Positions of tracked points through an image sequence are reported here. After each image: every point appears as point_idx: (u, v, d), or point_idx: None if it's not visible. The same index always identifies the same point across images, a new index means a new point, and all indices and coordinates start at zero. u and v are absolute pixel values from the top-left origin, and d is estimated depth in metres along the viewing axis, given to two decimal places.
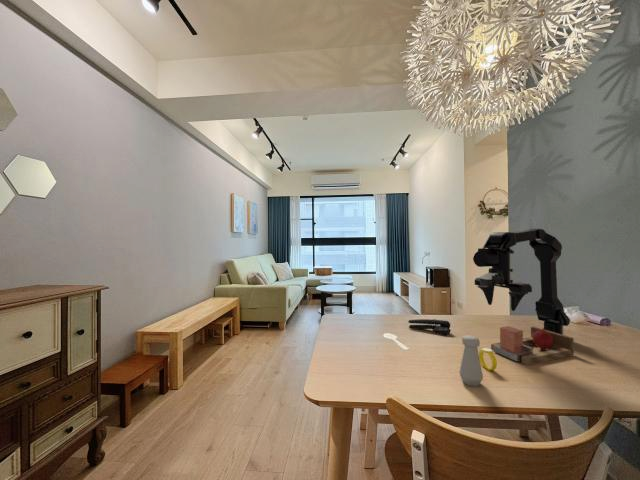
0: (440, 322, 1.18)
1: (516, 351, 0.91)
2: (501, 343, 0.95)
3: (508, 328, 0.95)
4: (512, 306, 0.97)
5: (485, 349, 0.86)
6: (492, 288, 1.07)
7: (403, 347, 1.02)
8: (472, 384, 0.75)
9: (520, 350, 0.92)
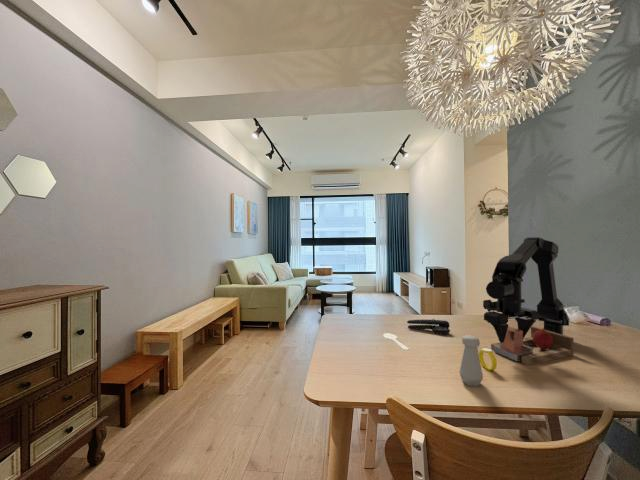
0: (439, 322, 1.18)
1: (516, 351, 0.91)
2: (501, 343, 0.95)
3: (508, 328, 0.95)
4: None
5: (485, 349, 0.86)
6: (527, 322, 0.94)
7: (403, 347, 1.02)
8: (472, 384, 0.75)
9: (520, 350, 0.92)
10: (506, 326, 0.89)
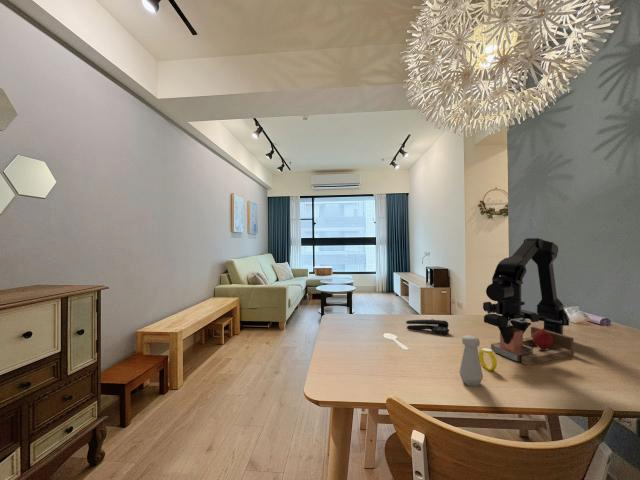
0: (438, 322, 1.18)
1: (516, 351, 0.91)
2: (501, 343, 0.95)
3: None
4: None
5: (485, 349, 0.86)
6: (522, 325, 0.93)
7: (403, 347, 1.02)
8: (472, 384, 0.75)
9: (520, 350, 0.92)
10: (511, 328, 0.90)
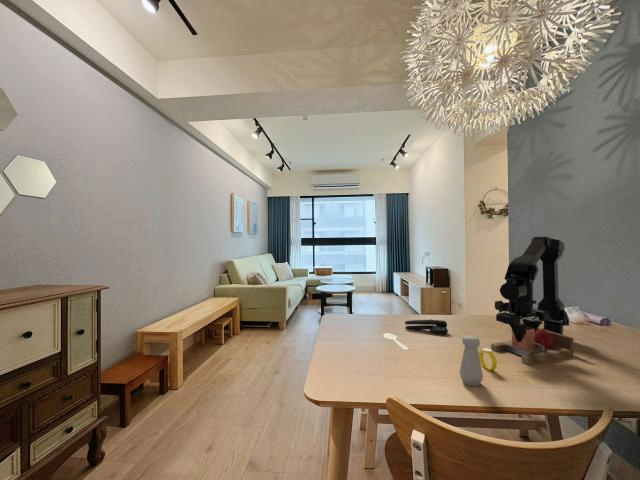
0: (437, 322, 1.18)
1: (528, 349, 0.93)
2: (513, 341, 0.97)
3: None
4: None
5: (485, 349, 0.86)
6: (533, 324, 0.95)
7: (403, 347, 1.02)
8: (472, 384, 0.75)
9: (532, 348, 0.94)
10: (524, 326, 0.92)
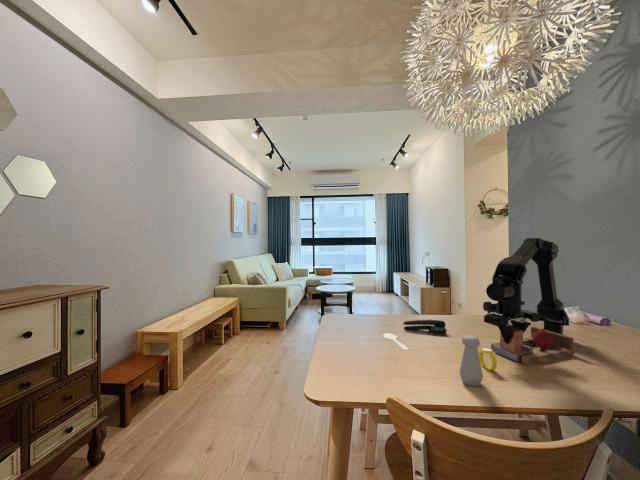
0: (436, 322, 1.18)
1: (516, 351, 0.91)
2: (501, 343, 0.95)
3: None
4: None
5: (485, 349, 0.86)
6: (522, 325, 0.93)
7: (403, 347, 1.02)
8: (472, 384, 0.75)
9: (520, 350, 0.92)
10: (511, 327, 0.90)
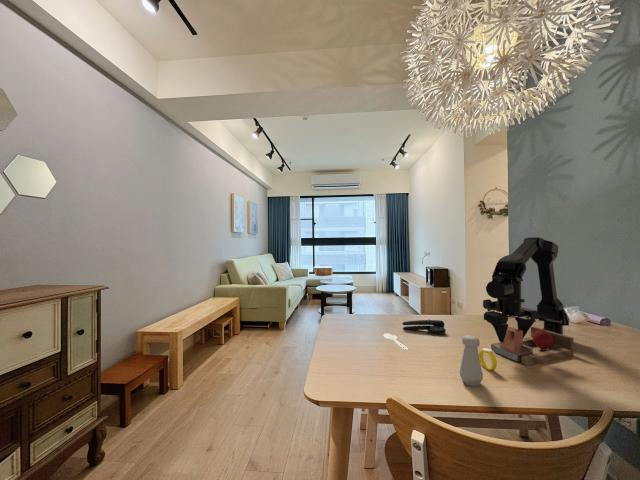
0: (435, 322, 1.18)
1: (516, 351, 0.91)
2: (501, 343, 0.95)
3: (508, 328, 0.95)
4: None
5: (485, 349, 0.86)
6: (527, 322, 0.94)
7: None
8: (472, 384, 0.75)
9: (520, 350, 0.92)
10: (506, 326, 0.89)
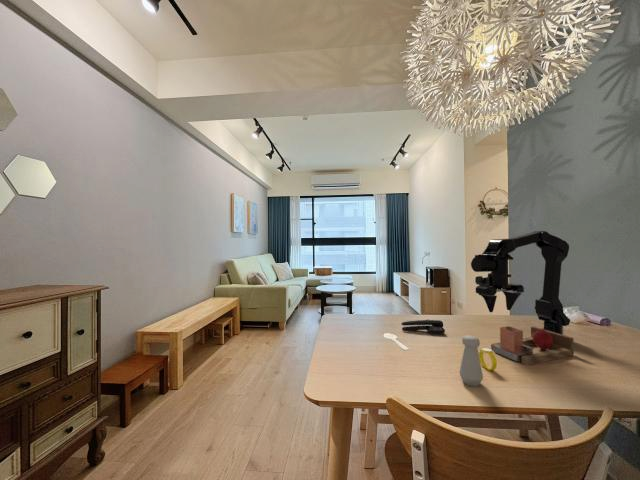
0: (434, 322, 1.18)
1: (516, 351, 0.91)
2: (501, 343, 0.95)
3: (508, 328, 0.95)
4: None
5: (485, 349, 0.86)
6: (513, 295, 1.07)
7: (403, 347, 1.02)
8: (472, 384, 0.75)
9: (520, 350, 0.92)
10: (494, 297, 1.02)
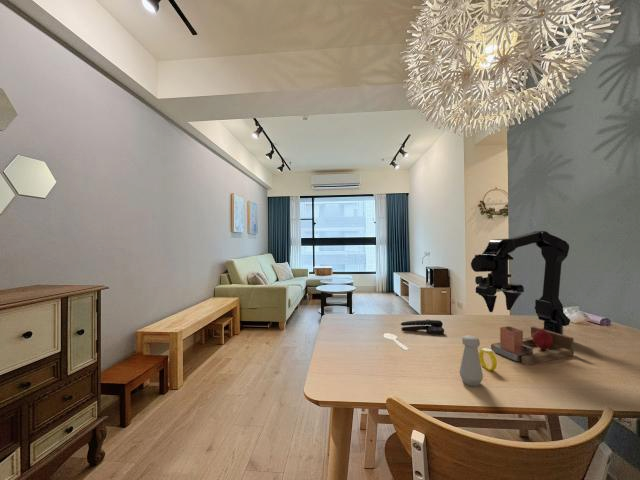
0: (433, 322, 1.18)
1: (516, 351, 0.91)
2: (501, 343, 0.95)
3: (508, 328, 0.95)
4: None
5: (485, 349, 0.86)
6: (513, 295, 1.07)
7: (403, 347, 1.02)
8: (472, 384, 0.75)
9: (520, 350, 0.92)
10: (494, 297, 1.02)
